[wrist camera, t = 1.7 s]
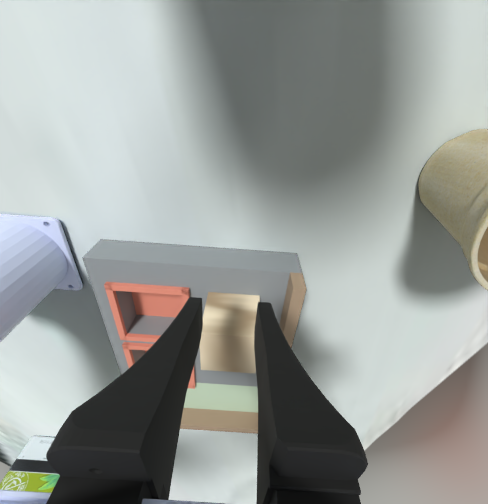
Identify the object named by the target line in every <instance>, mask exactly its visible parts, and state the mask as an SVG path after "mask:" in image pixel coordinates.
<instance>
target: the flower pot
mask: <svg viewBox="0 0 488 504" xmlns="http://www.w3.org/2000/svg"><path fill="white" fill-rule="evenodd" d="M418 186H419V195H420V199H421V202H422V203H423V205H424V206H425V207H426V208H427V209H428V210H429V211H430V212H431V213H432V214H433V215H434V216H435V217H436V219H437V220H438V221H439V222H440V223H441V224H442V225H443V226H444V228H445V229H446V230H447V231H448V232H449V233H450V234H451V235H452V237H453V238H454V239H455V240H456V241H457V242H458V243H459V244H460V246H461V247H462V250H463V253H464V255H465V257H466V259H467V260H468V265H469V268H470V271H471V273H472V275H473V276H474V278H475V279H476V280H477V282H478V283H479V284H480V285H481V286H482V287H484V288H485V289H486V290H488V129H478V130H473V131H470V132H468V133H466V134H463V135H461V136H459V137H456V138H454V139H452V140H450V141H448V142H446V143H445V144H444V145H442V146H441V147H440V148H439V149H438V150H437V151H436V152H435V153H434V154H433V155H432V156H431V157H430V159H429V160H428V161H427V163H426V165H425V166H424V168H423V170H422V172H421V175H420V178H419V182H418Z"/></svg>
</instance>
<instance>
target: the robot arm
mask: <svg viewBox="0 0 488 504" xmlns="http://www.w3.org/2000/svg"><path fill="white" fill-rule="evenodd" d="M47 222H48V223H49V224H50V225H49V224H48V223H47ZM82 288H83V284H82V281H81V279H80V276H79V273H78V270H77V267H76V265H75V262H74V259H73V256H72V253H71V250H70V248H69V245H68V242H67V239H66V236H65V234H64V231H63V228H62V225H61V223H60V221H59V220H58V219H56V218H49V217H35V216H22V215H8V214H0V342H1V341H2V340H3V339H4V338H5V337H6V336H7V335H8V334H9V333H10V332H11V331H12V330H13V329H14V328H15V327H16V326H17V325H18V324H19V323H20V322H21V321H22V320H23V319H24V318H25V317H26V316H27V315H28V314H29V313H30V312H31V311H32V310H33V309H34V308H35V307H36V306H37V305H38V304H39V303H40V302H41V301H42V300H43V299H44V298H45V297H46V296H47V295H48V294H49V293H50V292H51V291H52V290H53V289H63V290H77V291H78V290H81V289H82ZM202 328H203V311H202V298H197V297H190V298H188V300H187V302H186V303H185V305H184V306H183V308H182V309H181V311H180V312H179V314H178V315H177V316H176V318H175V319H174V320H173V322H172V323H171V324H170V326H169V327H168V328H167V329H166V331H165V332H164V333H163V334H162V335H161V336H160V338H159V339H158V340H157V341H156V342H155V343H154V344H153V345H152V346H151V348H150V349H149V350H148V351H147V352H146V353H145V354H144V355H143V356H142V357H141V358H140V359H139V360H137V361H136V362H135V363H134V364H133V365H132V366H131V367H130V368H129V369H128V370H126V371H125V372H124V373H123V374H122V375H121V376H119V377H118V378H117V379H116V380H114V381H113V382H112V383H111V384H109V385H108V386H107V387H106V388H104V389H103V390H102V391H100V392H99V393H98V394H96V395H95V396H93V397H92V398H91V399H89V400H88V401H86V402H85V403H83V404H82V405H81V406H79V407H78V408H76V409H75V410H73V411H72V412H71V414H70V415H69V417H68V418H67V420H66V421H65V422H64V424H63V425H62V427H61V428H60V430H59V432H58V434H57V435H56V437H55V439H54V441H53V442H52V444H51V446H50V448H49V449H48V451H47V454H46V458H47V460H48V462H49V464H50V465H51V466H52V467H53V468H54V470H55V471H56V472H57V473H58V474H59V475H60V477H59V479H58V481H57V483H56V485H55V487H54V489H53V491H52V493H46V492H30V491H14V490H0V504H224V503H208V502H192V501H176V500H168V498H169V492H170V485H171V479H172V472H173V466H174V460H175V454H176V448H177V442H178V436H179V430H180V425H181V419H182V414H183V408H184V403H185V398H186V393H187V389H188V385H189V381H190V378H191V374H192V370H193V367H194V363H195V360H196V356H197V353H198V349H199V345H200V340H201V334H202ZM254 352H255V364H256V376H257V388H258V465H257V504H361V502H360V499H359V495H360V493H361V490H360V487H359V483H358V478H359V477H360V476H361V475H362V474H363V472H364V471H365V469H366V467H367V465H368V463H367V459H366V456H365V452H364V449H363V447H362V444H361V442H360V439H359V437H358V435H357V433H356V431H355V429H354V428H353V427H352V426H351V425H350V424H349V423H348V422H347V421H346V420H345V419H344V418H343V417H342V416H341V415H340V413H339V412H338V411H337V410H336V409H335V408H334V407H333V406H332V404H331V403H330V402H329V401H328V400H327V399H326V398H325V396H324V395H323V394H322V393H321V391H320V390H319V389H318V387H317V386H316V385H315V384H314V382H313V381H312V380H311V378H310V377H309V376H308V374H307V373H306V371H305V370H304V368H303V367H302V365H301V364H300V362H299V361H298V359H297V358H296V356H295V354H294V353H293V351H292V349H291V347H290V346H289V344H288V342H287V340H286V338H285V336H284V334H283V332H282V330H281V328H280V326H279V323H278V321H277V319H276V316H275V313H274V311H273V308H272V304H271V303H268V302H258V306H257V314H256V321H255V330H254Z"/></svg>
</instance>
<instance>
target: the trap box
mask: <svg viewBox="0 0 488 504" xmlns="http://www.w3.org/2000/svg"><path fill="white" fill-rule="evenodd" d="M83 261H84V264H85V267H86V270H87V273H88V276H89V279H90V282H91V285H92V288H93V291H94V294H95V297H96V300H97V303H98V306H99V309H100V312H101V315H102V318H103V321H104V324H105V327H106V330H107V333H108V336H109V339H110V342H111V345H112V348H113V351H114V354H115V357H116V360H117V363H118V366H119V369H120V373H121V375H122V374H123V373H124V372H125V371H126V370H128V369H129V368H130V367H131V366H132V365H133V364H134V363H135V362H136V361H137V360H139V359H140V358H141V357H142V356H143V355H144V354H145V353H146V352H147V351H148V350H149V349H150V348H151V346H152V345H153V344H154V343H155V342H156V341H157V340H158V339H159V338H160V336H161V335H162V334H163V333H164V332H165V331H166V329H167V328H168V327H169V326H170V324H171V323H172V322H173V320H174V319H175V318H176V316H177V315H178V314H179V312H180V311H181V309H182V308H183V306H184V305H185V303H186V302H187V300H188V298H190V297H197V298H202V311H203V314H204V309H205V305H206V300H207V296H208V292H216V293H231V294H245V295H259V296H260V302H268V303H271V304H272V308H273V311H274V313H275V316H276V319H277V321H278V323H279V326H280V328H281V330H282V332H283V334H284V336H285V338H286V340H287V342H288V344H289V346H290V347H292V343H293V340H294V336H295V332H296V328H297V324H298V320H299V316H300V313H301V309H302V305H303V301H304V297H305V293H306V286H305V282H304V278H303V274H302V270H301V267H300V263H299V259H298V255H297V253H284V252H270V251H256V250H242V249H228V248H214V247H200V246H186V245H172V244H158V243H144V242H131V241H117V240H103V239H101V240H100V241H99V242H98V243H97V244H96V245H95V246H94V247H93V248H92V249H91V250H90V251H89V252H88V253H87V254H86V255H85V256H84V257H83ZM180 429H195V430H211V431H226V432H242V433H257V434H258V388H257V376H256V372H255V373H240V372H225V371H210V370H201V363H200V345H199V349H198V353H197V356H196V360H195V363H194V367H193V370H192V374H191V378H190V381H189V385H188V389H187V393H186V398H185V403H184V408H183V414H182V419H181V425H180Z"/></svg>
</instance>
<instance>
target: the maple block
mask: <svg viewBox="0 0 488 504" xmlns="http://www.w3.org/2000/svg"><path fill="white" fill-rule="evenodd" d="M258 302H260V296H259V295H245V294H231V293H216V292H208V296H207V300H206V305H205V309H204V314H203V328H202V334H201V340H200V363H201V370H210V371H225V372H240V373H255V372H256V364H255V352H254V330H255V321H256V314H257V306H258Z"/></svg>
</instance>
